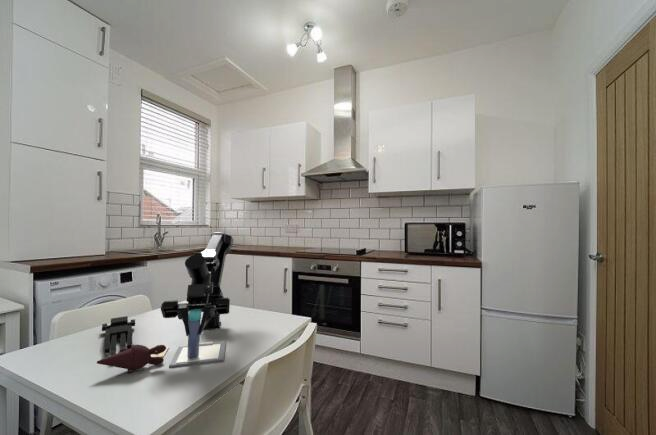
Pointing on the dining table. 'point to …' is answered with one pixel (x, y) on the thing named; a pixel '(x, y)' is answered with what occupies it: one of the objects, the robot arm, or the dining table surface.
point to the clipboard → (207, 354)
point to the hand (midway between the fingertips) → (193, 334)
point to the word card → (160, 354)
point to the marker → (194, 333)
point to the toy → (118, 334)
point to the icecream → (134, 357)
